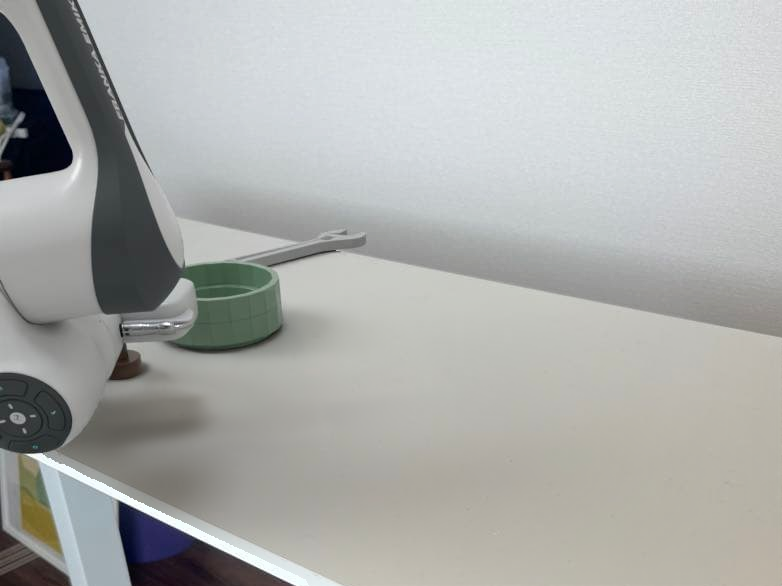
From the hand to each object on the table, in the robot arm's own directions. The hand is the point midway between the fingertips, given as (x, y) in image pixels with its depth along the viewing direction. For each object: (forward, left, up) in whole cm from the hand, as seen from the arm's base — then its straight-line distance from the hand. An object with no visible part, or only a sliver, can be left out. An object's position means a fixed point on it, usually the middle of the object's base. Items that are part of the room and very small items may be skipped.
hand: (97, 283), depth 80 cm
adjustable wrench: (+23, +41, -10) cm, 48 cm away
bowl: (+11, +12, -10) cm, 19 cm away
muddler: (0, +2, -10) cm, 10 cm away
